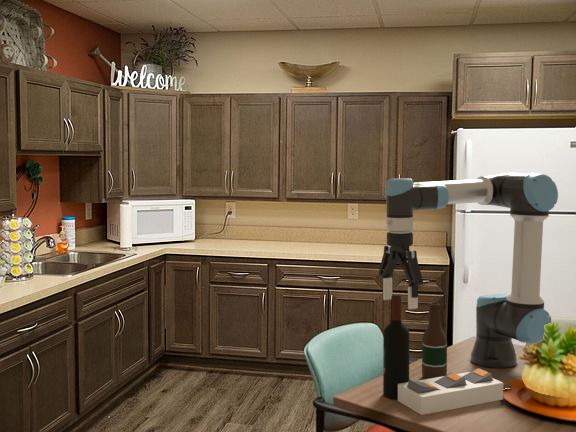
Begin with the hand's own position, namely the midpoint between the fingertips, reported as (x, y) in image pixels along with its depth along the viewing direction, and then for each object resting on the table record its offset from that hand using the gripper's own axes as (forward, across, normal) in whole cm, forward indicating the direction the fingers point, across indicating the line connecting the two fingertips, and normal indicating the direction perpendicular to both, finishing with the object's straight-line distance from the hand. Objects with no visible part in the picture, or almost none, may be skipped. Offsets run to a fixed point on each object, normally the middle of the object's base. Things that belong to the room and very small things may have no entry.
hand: (400, 303), depth 197 cm
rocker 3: (+24, +9, +21) cm, 33 cm away
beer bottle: (+28, -10, +19) cm, 35 cm away
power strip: (+28, +9, +15) cm, 33 cm away
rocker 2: (+24, +10, +11) cm, 28 cm away
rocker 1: (+23, +10, +1) cm, 25 cm away
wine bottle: (+28, 0, -1) cm, 28 cm away
